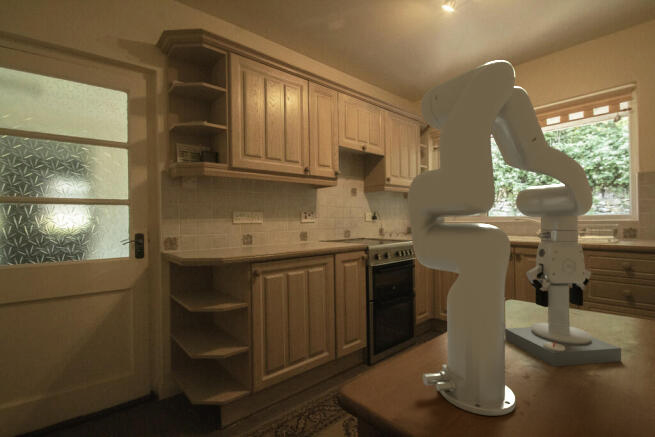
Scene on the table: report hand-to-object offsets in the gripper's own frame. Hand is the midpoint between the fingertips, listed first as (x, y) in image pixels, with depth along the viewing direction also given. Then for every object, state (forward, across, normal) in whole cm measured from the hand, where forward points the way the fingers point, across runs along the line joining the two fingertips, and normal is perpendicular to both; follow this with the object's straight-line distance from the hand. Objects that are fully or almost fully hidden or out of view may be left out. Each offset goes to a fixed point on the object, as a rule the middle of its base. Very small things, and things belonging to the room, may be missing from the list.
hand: (559, 305), depth 77 cm
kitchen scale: (+11, -2, -1) cm, 11 cm away
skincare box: (+7, 0, 0) cm, 7 cm away
